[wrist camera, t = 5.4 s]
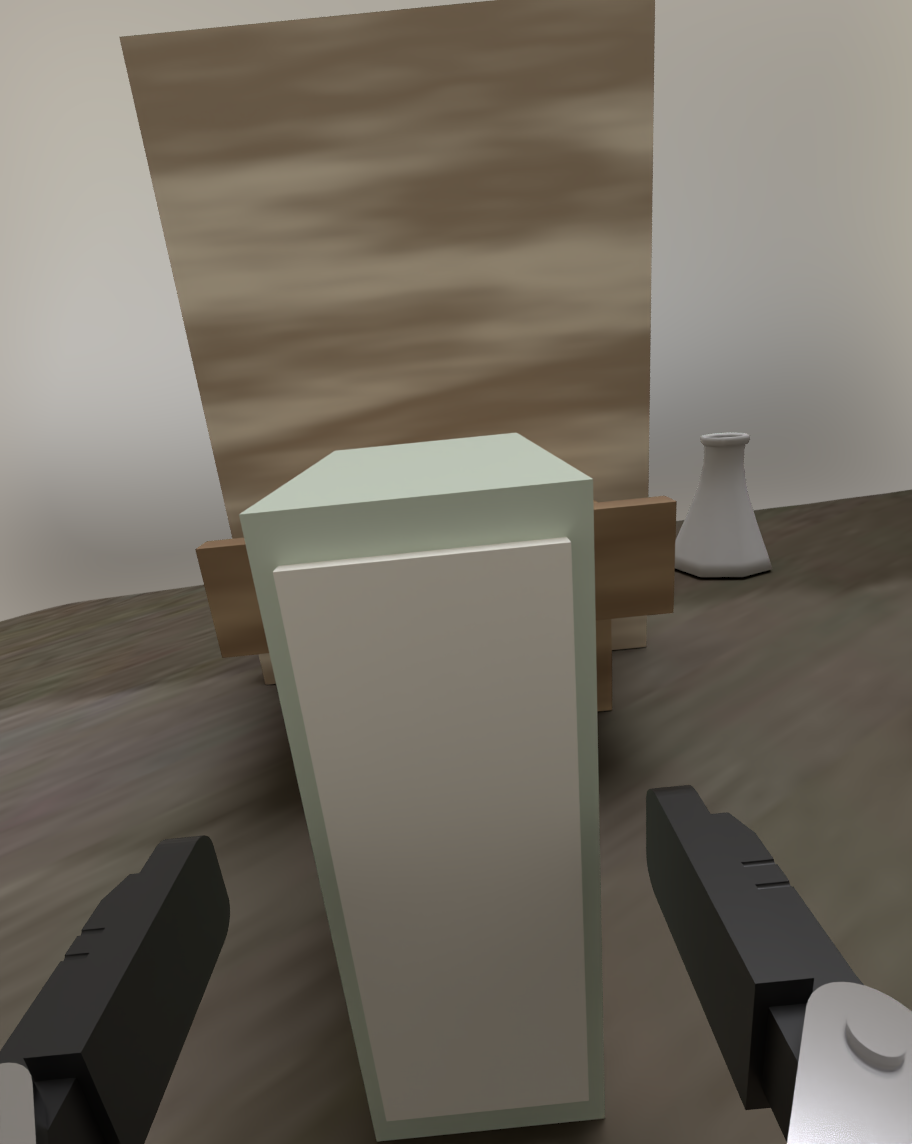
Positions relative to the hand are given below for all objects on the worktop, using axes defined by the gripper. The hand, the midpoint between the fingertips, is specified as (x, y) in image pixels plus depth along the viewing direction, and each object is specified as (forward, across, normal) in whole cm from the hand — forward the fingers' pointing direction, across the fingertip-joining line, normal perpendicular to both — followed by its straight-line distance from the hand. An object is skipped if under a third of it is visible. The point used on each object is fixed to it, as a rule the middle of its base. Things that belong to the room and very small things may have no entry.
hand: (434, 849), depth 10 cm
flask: (+34, +21, -7) cm, 40 cm away
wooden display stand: (+19, 0, -7) cm, 20 cm away
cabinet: (+4, 0, -7) cm, 8 cm away
